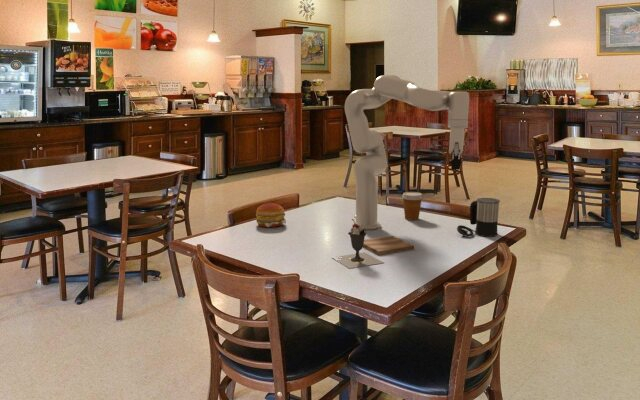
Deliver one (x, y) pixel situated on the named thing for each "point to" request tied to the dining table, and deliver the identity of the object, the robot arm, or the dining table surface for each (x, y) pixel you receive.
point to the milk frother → (482, 218)
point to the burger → (270, 215)
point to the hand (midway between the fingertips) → (456, 167)
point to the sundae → (357, 240)
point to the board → (387, 245)
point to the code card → (351, 264)
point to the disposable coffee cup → (412, 205)
